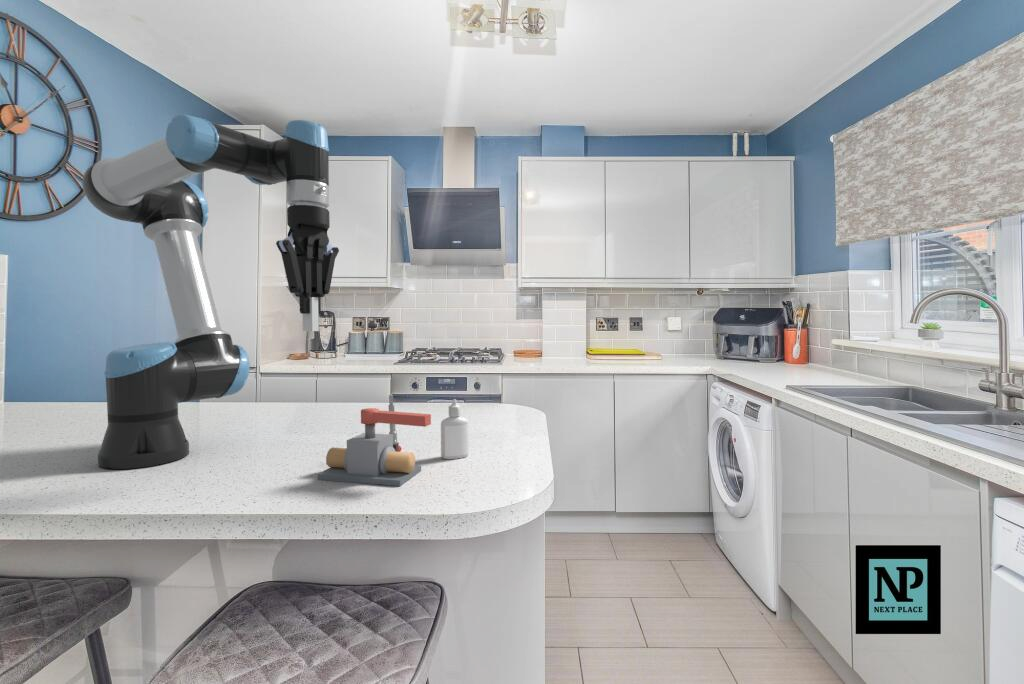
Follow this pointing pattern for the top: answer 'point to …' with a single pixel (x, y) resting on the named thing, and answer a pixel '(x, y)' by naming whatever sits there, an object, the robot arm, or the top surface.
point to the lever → (394, 417)
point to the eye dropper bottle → (454, 434)
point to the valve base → (370, 461)
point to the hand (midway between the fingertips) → (310, 330)
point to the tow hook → (393, 427)
